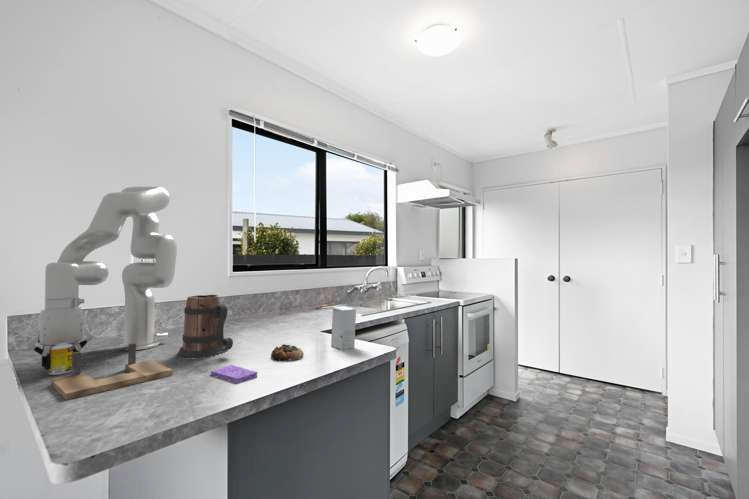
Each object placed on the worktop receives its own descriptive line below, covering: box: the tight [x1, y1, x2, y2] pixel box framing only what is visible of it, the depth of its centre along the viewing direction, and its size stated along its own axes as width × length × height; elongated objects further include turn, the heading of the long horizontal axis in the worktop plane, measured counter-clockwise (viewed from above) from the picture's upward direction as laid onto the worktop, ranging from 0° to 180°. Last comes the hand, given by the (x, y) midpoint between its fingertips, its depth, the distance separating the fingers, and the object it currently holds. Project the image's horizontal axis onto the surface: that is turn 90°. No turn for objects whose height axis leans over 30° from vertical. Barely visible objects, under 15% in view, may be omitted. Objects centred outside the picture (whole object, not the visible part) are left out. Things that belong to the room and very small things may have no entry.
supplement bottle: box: [47, 343, 74, 376], centre depth 108 cm, size 6×6×10 cm
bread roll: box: [270, 343, 304, 362], centre depth 126 cm, size 11×11×5 cm
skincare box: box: [330, 305, 357, 351], centre depth 139 cm, size 8×6×15 cm
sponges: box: [210, 364, 258, 384], centre depth 106 cm, size 7×13×2 cm, turn 55°
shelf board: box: [50, 343, 174, 401], centre depth 102 cm, size 24×17×8 cm
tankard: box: [175, 294, 234, 360], centre depth 130 cm, size 24×17×20 cm
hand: (60, 365), depth 108 cm, fingers closed on supplement bottle, 5 cm apart
